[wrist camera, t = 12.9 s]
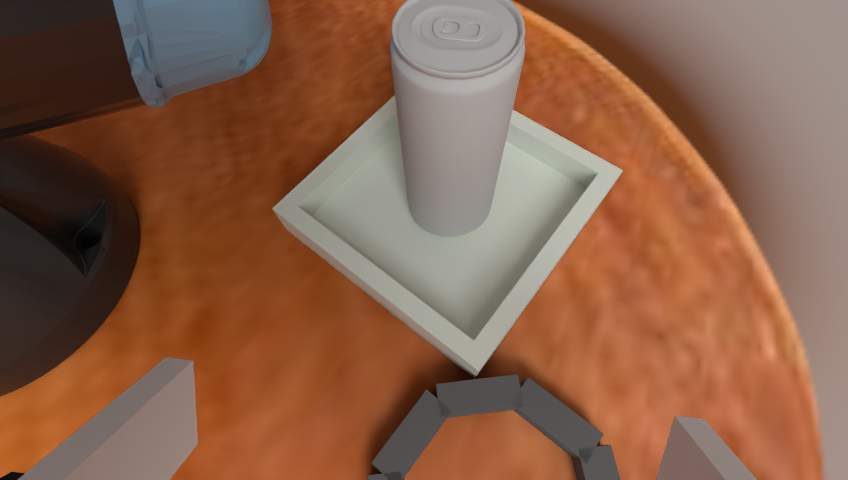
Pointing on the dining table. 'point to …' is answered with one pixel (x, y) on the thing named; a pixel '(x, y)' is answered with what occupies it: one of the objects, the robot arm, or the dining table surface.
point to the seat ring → (494, 396)
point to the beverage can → (454, 105)
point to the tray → (448, 256)
